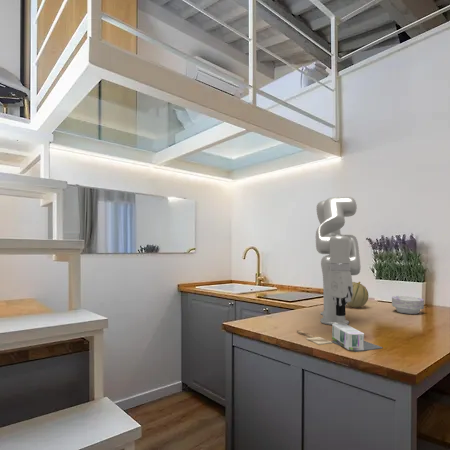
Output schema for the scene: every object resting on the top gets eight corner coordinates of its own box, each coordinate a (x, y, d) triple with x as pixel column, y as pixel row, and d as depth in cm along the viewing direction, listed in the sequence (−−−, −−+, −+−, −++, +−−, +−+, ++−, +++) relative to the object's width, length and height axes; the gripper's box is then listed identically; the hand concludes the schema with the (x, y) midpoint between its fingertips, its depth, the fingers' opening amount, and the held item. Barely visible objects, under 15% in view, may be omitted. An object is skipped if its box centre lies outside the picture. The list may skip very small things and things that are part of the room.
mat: (330, 341, 129) (330, 341, 129) (356, 338, 133) (356, 338, 133) (355, 352, 117) (355, 351, 117) (382, 348, 121) (382, 347, 121)
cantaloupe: (337, 305, 206) (337, 280, 207) (360, 304, 208) (360, 280, 209) (349, 310, 191) (348, 283, 192) (373, 309, 193) (373, 282, 194)
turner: (292, 333, 142) (292, 331, 142) (304, 331, 144) (304, 329, 144) (318, 344, 125) (318, 342, 125) (332, 343, 127) (332, 341, 127)
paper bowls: (430, 315, 177) (429, 299, 178) (400, 315, 177) (400, 299, 178) (414, 309, 192) (414, 295, 193) (387, 309, 193) (386, 295, 193)
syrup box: (331, 323, 132) (348, 333, 117) (346, 323, 132) (364, 333, 118) (331, 338, 132) (348, 350, 117) (346, 338, 132) (364, 350, 118)
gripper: (320, 266, 139) (320, 312, 138) (345, 269, 125) (346, 320, 124) (335, 266, 142) (336, 311, 141) (361, 268, 128) (362, 318, 127)
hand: (340, 315), depth 133 cm, fingers closed
